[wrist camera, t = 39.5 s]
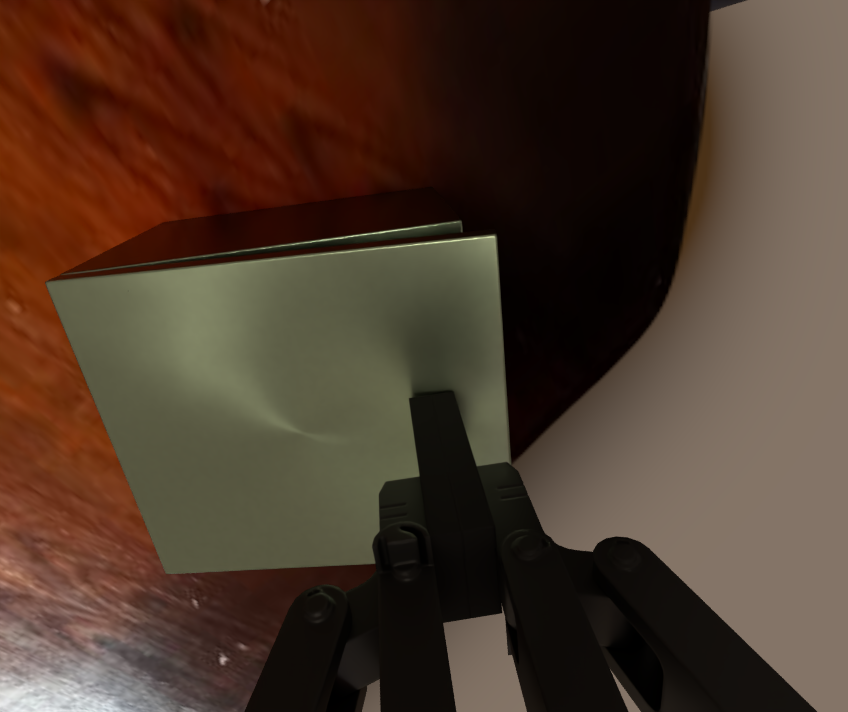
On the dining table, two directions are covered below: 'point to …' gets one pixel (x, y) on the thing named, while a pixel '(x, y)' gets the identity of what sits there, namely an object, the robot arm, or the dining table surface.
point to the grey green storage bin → (284, 230)
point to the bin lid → (286, 388)
